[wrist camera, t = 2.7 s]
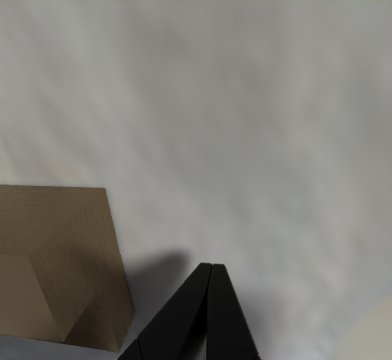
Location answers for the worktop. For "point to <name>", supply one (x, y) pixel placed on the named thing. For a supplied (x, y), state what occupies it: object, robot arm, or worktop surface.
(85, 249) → the wooden block
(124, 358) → the robot arm
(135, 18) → the worktop surface
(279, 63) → the worktop surface
